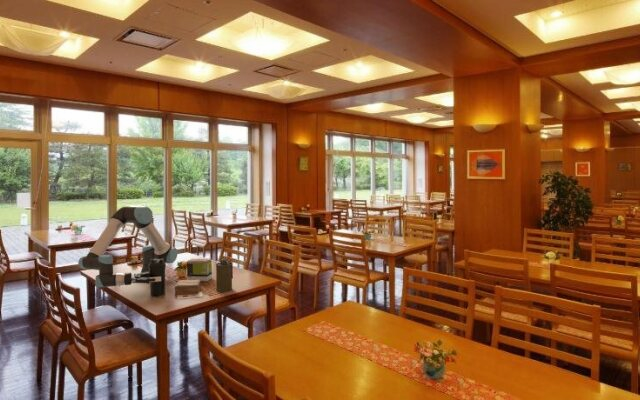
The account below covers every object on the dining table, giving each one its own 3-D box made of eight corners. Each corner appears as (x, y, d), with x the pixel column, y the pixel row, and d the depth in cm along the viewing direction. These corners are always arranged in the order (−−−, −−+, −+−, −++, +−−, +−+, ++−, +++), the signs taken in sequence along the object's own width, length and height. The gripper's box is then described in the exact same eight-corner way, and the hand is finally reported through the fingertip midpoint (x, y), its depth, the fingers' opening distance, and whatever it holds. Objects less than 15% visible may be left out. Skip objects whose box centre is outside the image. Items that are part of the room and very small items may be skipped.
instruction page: (177, 294, 252) (177, 293, 252) (201, 292, 257) (201, 291, 257) (176, 299, 243) (176, 298, 243) (202, 296, 248) (202, 296, 248)
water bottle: (152, 292, 256) (151, 257, 254) (168, 292, 257) (167, 257, 255) (146, 297, 246) (145, 261, 244) (163, 297, 247) (162, 260, 245)
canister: (219, 293, 255) (219, 262, 254) (213, 289, 264) (213, 259, 262) (235, 290, 262) (235, 260, 260) (229, 286, 270) (228, 257, 268)
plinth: (178, 289, 263) (178, 280, 263) (200, 288, 266) (200, 279, 265) (175, 295, 249) (174, 286, 249) (198, 294, 252) (197, 284, 251)
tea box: (212, 278, 291) (212, 258, 290) (207, 281, 281) (206, 261, 280) (192, 277, 292) (192, 257, 291) (186, 281, 282) (186, 260, 281)
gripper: (126, 279, 256) (162, 276, 263) (122, 290, 232) (161, 287, 240) (126, 268, 255) (161, 265, 262) (121, 278, 232) (160, 275, 239)
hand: (161, 276), depth 251 cm, fingers open, 13 cm apart
